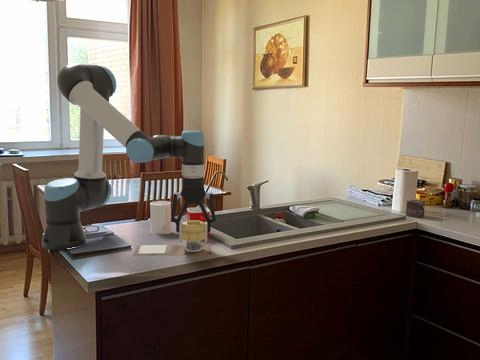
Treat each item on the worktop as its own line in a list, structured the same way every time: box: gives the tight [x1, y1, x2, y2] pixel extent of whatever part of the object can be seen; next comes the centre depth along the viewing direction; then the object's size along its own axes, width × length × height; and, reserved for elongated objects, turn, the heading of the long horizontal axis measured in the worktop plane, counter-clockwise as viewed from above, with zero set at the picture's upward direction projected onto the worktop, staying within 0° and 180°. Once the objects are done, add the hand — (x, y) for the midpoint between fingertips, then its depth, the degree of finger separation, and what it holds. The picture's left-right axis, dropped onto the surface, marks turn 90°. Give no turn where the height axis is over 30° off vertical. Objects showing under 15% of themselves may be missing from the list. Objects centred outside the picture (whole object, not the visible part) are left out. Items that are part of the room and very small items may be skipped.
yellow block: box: [182, 220, 205, 242], centre depth 164 cm, size 8×8×6 cm
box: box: [405, 198, 426, 219], centre depth 221 cm, size 6×6×7 cm
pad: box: [138, 244, 168, 255], centre depth 164 cm, size 9×9×1 cm
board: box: [132, 244, 212, 257], centre depth 165 cm, size 26×11×1 cm, turn 95°
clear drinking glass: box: [183, 240, 204, 253], centre depth 164 cm, size 7×7×7 cm
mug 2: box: [186, 206, 211, 237], centre depth 182 cm, size 12×8×11 cm
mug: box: [149, 200, 173, 235], centre depth 188 cm, size 12×8×12 cm
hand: (193, 241), depth 164 cm, fingers closed on yellow block, 8 cm apart
